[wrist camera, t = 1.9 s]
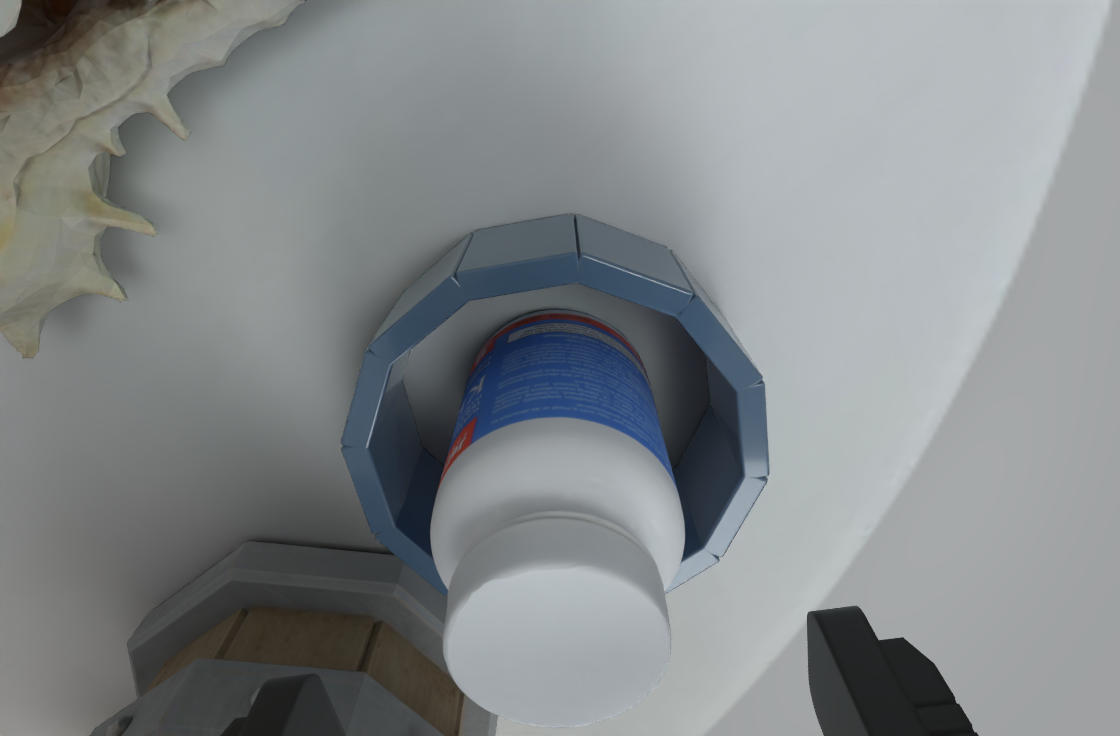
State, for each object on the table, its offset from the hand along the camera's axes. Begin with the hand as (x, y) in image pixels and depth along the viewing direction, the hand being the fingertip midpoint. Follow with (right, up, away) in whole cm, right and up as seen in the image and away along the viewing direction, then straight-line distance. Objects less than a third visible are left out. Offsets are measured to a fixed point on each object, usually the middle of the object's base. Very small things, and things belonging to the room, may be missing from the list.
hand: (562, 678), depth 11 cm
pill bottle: (0, +5, +10) cm, 11 cm away
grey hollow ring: (0, +4, +9) cm, 10 cm away
